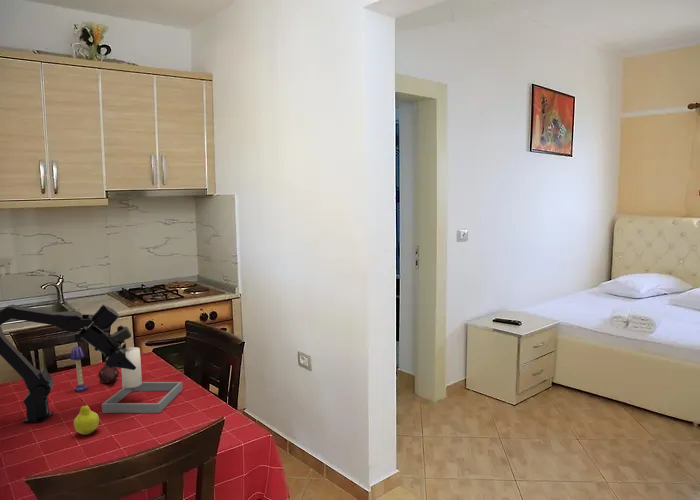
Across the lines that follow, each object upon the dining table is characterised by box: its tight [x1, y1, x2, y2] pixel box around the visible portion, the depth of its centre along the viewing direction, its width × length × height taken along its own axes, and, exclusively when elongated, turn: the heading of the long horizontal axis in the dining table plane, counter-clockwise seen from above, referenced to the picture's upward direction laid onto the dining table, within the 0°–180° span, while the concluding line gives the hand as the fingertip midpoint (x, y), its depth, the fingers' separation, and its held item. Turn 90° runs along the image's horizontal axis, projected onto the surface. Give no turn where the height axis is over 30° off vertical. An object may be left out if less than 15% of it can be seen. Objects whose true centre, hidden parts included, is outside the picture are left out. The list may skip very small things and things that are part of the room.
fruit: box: [73, 397, 100, 436], centre depth 161 cm, size 7×7×12 cm
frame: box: [101, 381, 184, 414], centre depth 185 cm, size 20×20×3 cm
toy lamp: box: [69, 346, 88, 393], centre depth 196 cm, size 5×5×17 cm
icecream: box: [97, 363, 120, 384], centre depth 204 cm, size 7×7×15 cm
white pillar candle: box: [120, 346, 143, 388], centre depth 183 cm, size 6×6×12 cm
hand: (135, 365), depth 183 cm, fingers closed on white pillar candle, 6 cm apart
